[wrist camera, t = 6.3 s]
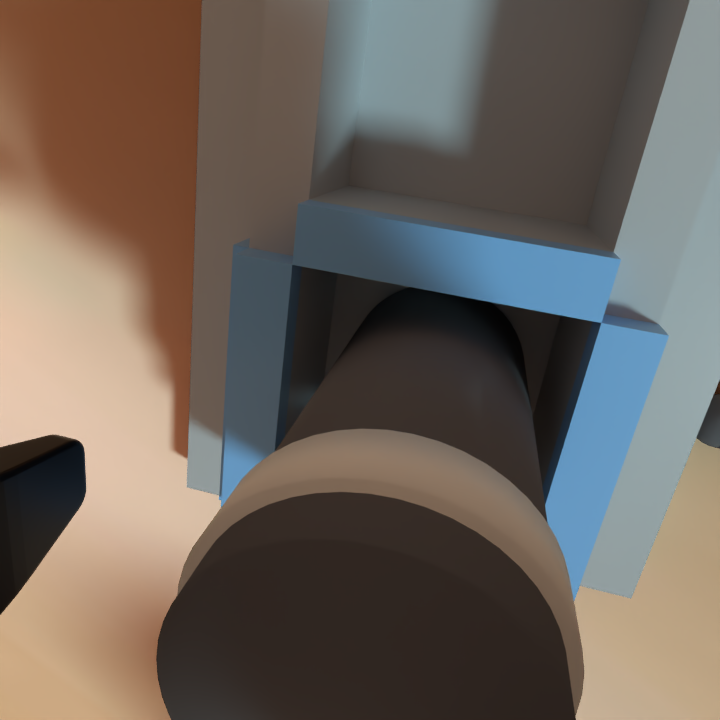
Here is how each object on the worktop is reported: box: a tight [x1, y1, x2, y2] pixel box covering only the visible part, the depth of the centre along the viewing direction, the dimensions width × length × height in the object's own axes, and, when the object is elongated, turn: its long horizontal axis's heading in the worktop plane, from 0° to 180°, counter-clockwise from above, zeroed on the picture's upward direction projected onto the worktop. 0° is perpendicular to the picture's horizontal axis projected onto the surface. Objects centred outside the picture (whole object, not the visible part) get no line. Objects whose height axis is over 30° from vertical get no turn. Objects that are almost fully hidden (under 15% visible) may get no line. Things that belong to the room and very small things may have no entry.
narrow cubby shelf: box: [187, 0, 720, 600], centre depth 10 cm, size 12×23×5 cm, turn 172°
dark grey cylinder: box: [156, 287, 584, 720], centre depth 10 cm, size 4×4×9 cm
